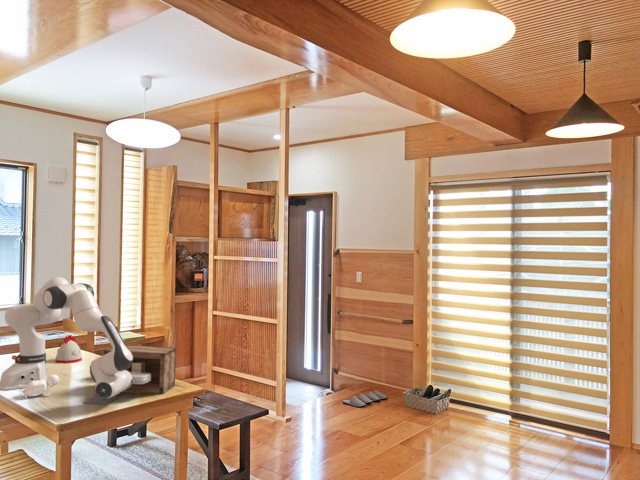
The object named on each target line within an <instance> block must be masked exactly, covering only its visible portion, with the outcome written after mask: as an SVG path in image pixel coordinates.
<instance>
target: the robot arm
mask: <svg viewBox="0 0 640 480" xmlns="http://www.w3.org/2000/svg"><path fill="white" fill-rule="evenodd" d="M32 302H33V303H24V304H17V305H13V306H9V307H8V309H6V311H5V314H4V321H5V323H6V324H7V326H9V327H10V328H12V329H13V330H14V331H15V332H16V334H17V336H18V341H19V354H18V355H15V354H13V355H11V359H12V360H13V361H14V363H12V364H11V365H10V366H9V367H8V368H6V369H5V370H3V372H2V373H1V375H0V390H1V391H9V390H17V389H25V388H26V386H27V385H28V384H29V383H30V382H32V381H37V380H46V381H47V379H48V376H47V372H46V362H47V353H46V337H45V336H44V334H42V333H40V332H37V331H36V328H35V327H36V326H44V325H50V324H53V323H56V322H58V321H59V319H60V318H61V315H62V310H63V309H70V310H71V314H72V316H73V320H74V323H75V325H76V327H77V329H79V330H81V331H83V332H85V333H87V332H88V333H91V332H92V333H95V332H102V333H103V334H104V335H105V336H106V338H107V340H108V342H109V343H110V346H111V348H112V347H113V350H112V351H111V352H109V353H107V354H105V355H104V354H103V355H100V357H97V358H96V359H93V360H92V361H91V362H90V366H89V374H90V377H91V379H92V380H93V382H94V383H95V387H94V389H95V393H96V395H97V396H100V397H102V398H110V397H116V396H117V395H119V394H120V393H123V392H122V391H124V390H126V389H128V388H129V387H130V386H131V385H132V384H145V383H147V382H149V381H151V374H150V373H147V372H143V373H141V372H128V371H126V369H129V368H130V366H131V364H132V362H133V355H132V353H131V351H130V350H129V349H128V347H127V346H126V345H127V344H126V343H125V342H124V339H123V338H122V336H121V334H120V333H119V331H118V329H117V327H116V325H115V324H114V322H113V321H112V319H111V318H110V317H109V316H107V315H103V313H102V312H101V310H100V307H99V305H98V302H97V300H96V298H95V290H94V288H93V287H92V286H91V284H88V283H82V282H79V283H78V282H77V283H69V281H68V279H66V278H64V277H62V276H54V277H52V278H51V279H50V280H48V281H46V282H45V283H44V284H43V286H42V287H40V288H39V290H38V291H37V292H36V294H35V295H34V296H33V298H32Z"/></svg>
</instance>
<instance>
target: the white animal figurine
mask: <svg viewBox="0 0 640 480" xmlns="http://www.w3.org/2000/svg"><path fill="white" fill-rule="evenodd" d="M59 382H60V377H59V376H58V375H57V374H51V375H49V376H47V381H46V380H37V381H32V382H30V383H29V384H28V385H27V386H26V388H23V389H22V394H23V395H24V397H25V400H27V399H28V397H29V398H30V397H37V396H40V395H44V396H45V397H46V398H47V397H48V398H49V397H50V396H51V394H50V393H49V391H48V389H49V387H54V386H57V385H58V384H59Z"/></svg>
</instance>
